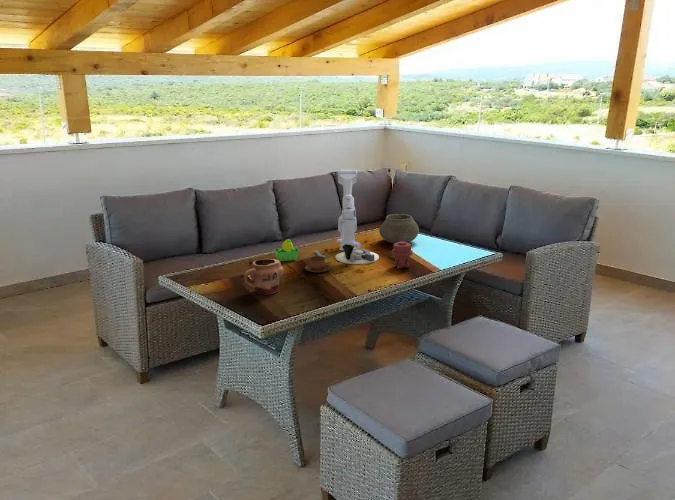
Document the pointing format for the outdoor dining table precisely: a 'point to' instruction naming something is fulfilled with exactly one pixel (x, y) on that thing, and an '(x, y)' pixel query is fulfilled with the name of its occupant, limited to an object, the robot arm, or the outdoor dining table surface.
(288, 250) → the fruit basket
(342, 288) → the outdoor dining table surface
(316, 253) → the pin spanner
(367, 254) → the white round disc
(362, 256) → the grey block crown
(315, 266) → the cup and saucer
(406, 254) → the mechanical component
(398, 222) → the clay pot
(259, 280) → the decorative planter
